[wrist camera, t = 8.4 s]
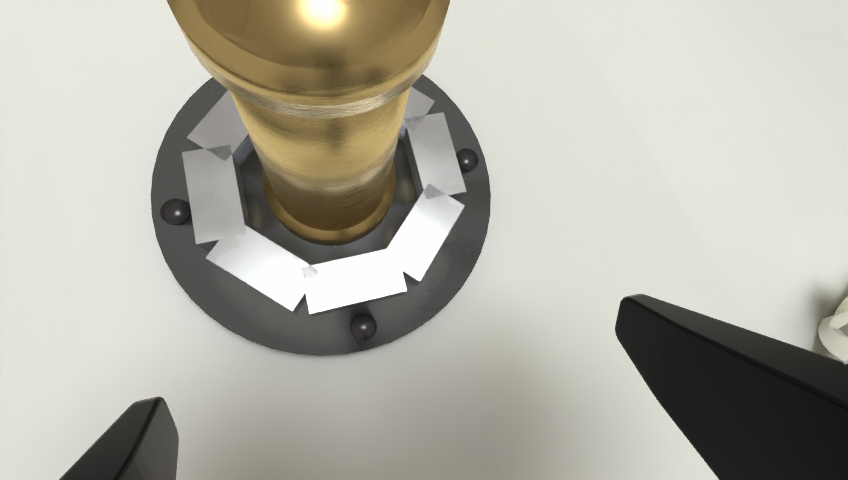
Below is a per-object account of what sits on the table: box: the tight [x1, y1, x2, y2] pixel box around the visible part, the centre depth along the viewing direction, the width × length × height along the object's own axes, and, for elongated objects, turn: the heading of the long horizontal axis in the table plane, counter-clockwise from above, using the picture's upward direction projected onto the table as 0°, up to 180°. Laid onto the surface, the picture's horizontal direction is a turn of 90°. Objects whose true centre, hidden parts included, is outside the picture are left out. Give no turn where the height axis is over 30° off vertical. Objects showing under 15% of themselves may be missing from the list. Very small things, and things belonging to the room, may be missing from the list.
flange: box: [151, 74, 491, 355], centre depth 22 cm, size 16×16×2 cm
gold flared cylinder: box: [167, 0, 450, 246], centre depth 16 cm, size 6×6×13 cm
